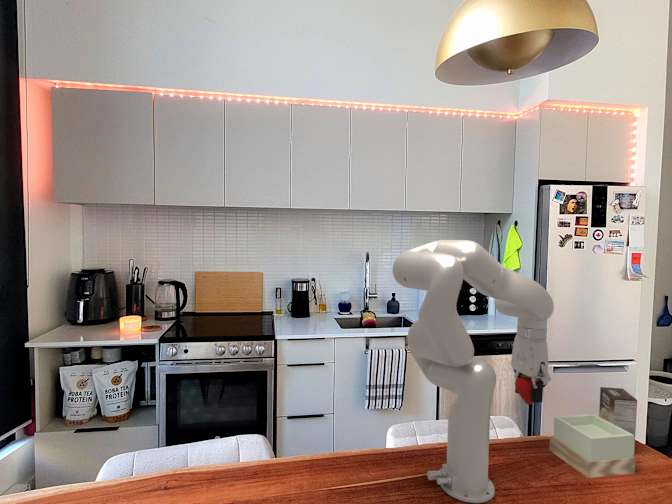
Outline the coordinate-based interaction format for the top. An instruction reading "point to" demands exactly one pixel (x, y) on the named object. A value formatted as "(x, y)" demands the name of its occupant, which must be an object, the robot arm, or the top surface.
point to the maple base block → (589, 467)
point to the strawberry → (524, 388)
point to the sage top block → (594, 437)
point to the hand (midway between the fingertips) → (528, 396)
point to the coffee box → (618, 409)
